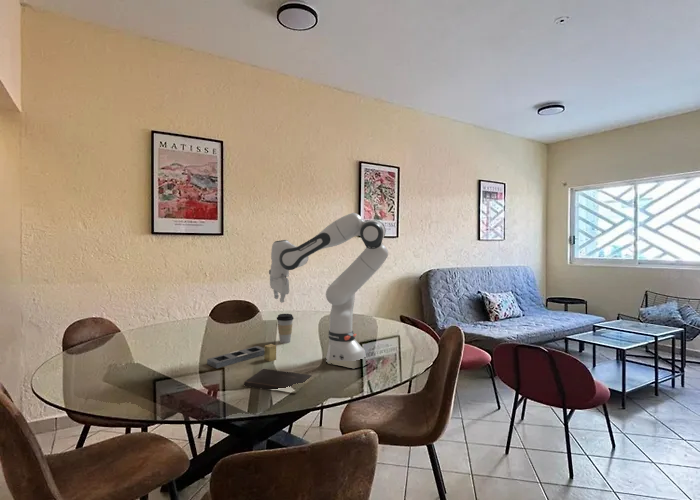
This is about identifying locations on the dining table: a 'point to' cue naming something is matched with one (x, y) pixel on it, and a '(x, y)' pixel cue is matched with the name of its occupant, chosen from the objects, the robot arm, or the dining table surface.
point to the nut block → (270, 352)
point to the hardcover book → (275, 379)
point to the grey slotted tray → (235, 357)
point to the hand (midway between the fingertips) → (279, 300)
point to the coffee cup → (285, 327)
